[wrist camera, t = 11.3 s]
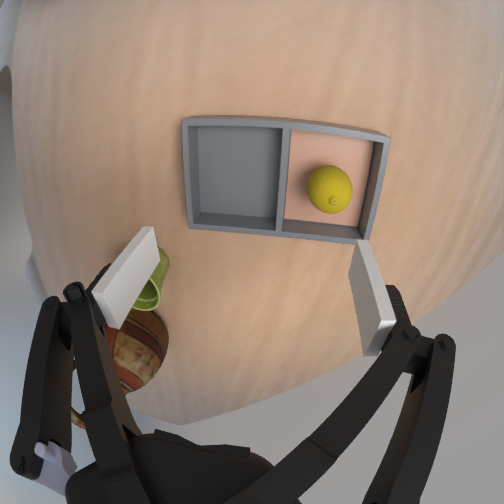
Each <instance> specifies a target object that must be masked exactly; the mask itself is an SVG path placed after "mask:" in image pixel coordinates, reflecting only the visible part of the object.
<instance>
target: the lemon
mask: <svg viewBox="0 0 504 504" xmlns="http://www.w3.org/2000/svg"><path fill="white" fill-rule="evenodd" d="M307 194H308V197H309V200H310V201H311V203H312V204H313V206H315V207H316V208H317V209H318V210H319V211H321V212H323V213H327V214H335V213H339V212H341V211H343V210H344V209H345V208H347V206H348V205H349V204H350V201H351V199H352V194H353V189H352V183H351V181H350V178H349V177H348V175H347V174H346V173H345V172H344V171H343V170H341V169H340V168H338V167H336V166H332V165H325V166H321V167H318V168H317V169H315V170H314V171H313V172H312V173H311V175H310V176H309V179H308V181H307Z"/></svg>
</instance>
